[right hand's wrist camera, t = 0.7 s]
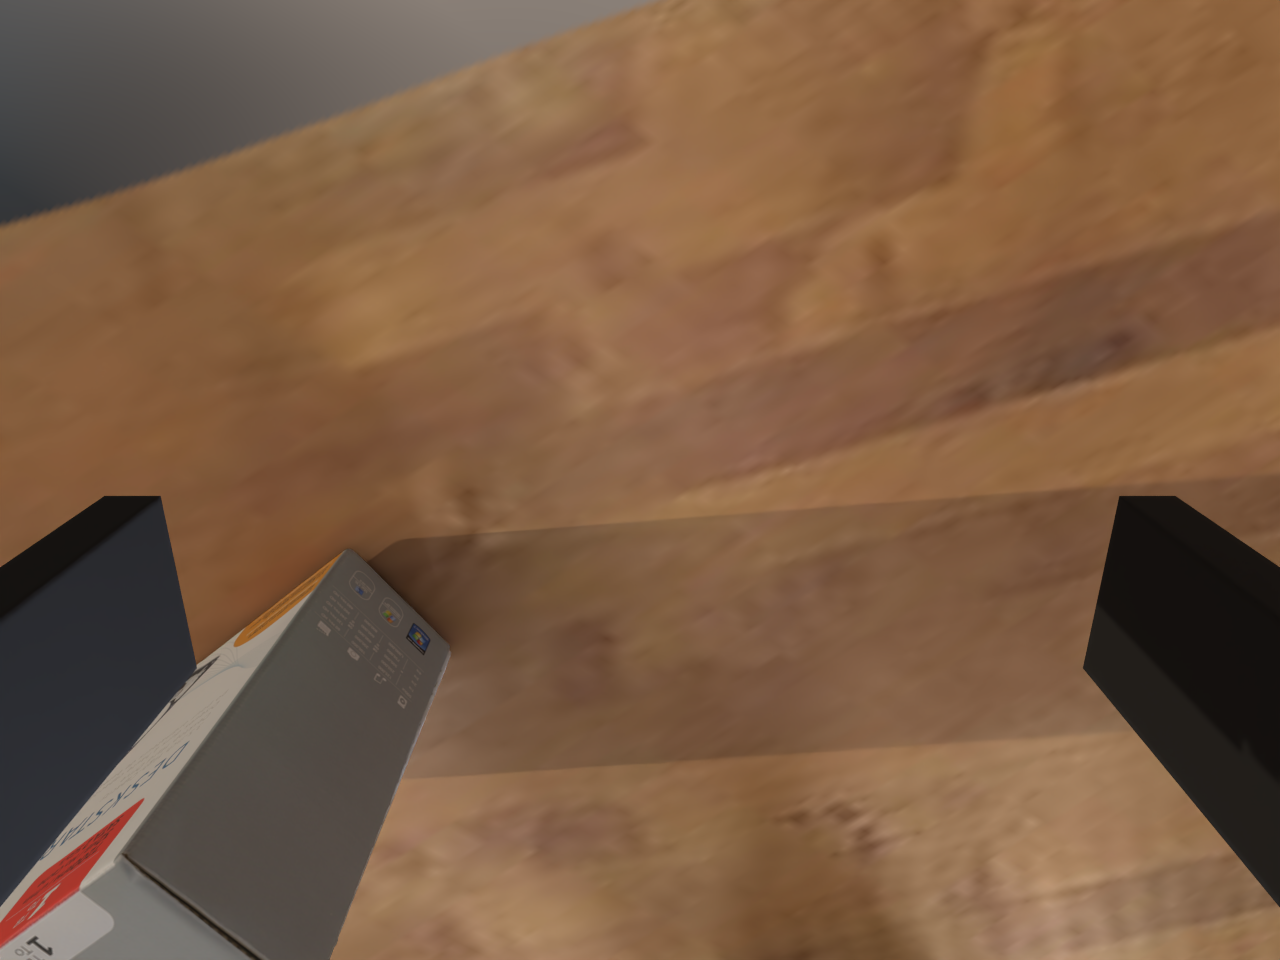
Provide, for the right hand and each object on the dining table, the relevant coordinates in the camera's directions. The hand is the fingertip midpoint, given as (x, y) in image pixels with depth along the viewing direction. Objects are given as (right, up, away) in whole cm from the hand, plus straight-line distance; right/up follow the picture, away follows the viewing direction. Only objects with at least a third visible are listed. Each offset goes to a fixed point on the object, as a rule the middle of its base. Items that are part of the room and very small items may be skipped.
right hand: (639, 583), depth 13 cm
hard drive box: (-18, -9, +33) cm, 39 cm away
